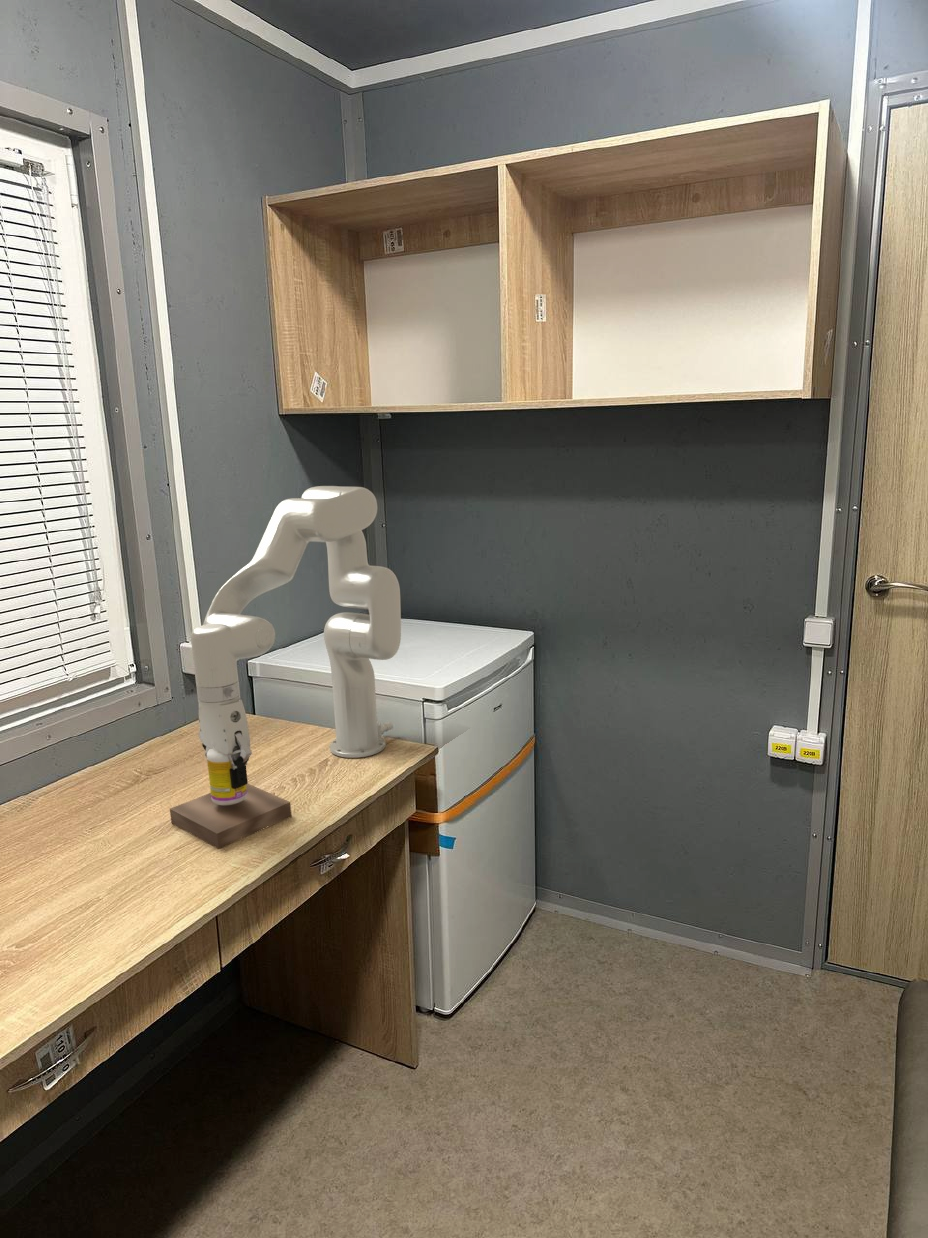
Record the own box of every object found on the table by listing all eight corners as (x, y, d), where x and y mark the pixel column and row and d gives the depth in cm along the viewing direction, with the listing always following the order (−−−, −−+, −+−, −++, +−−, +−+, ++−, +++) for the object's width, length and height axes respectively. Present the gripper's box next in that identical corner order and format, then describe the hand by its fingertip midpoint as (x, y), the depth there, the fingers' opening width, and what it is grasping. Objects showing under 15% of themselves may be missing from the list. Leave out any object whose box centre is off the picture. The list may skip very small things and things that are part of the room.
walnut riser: (242, 794, 177) (241, 780, 176) (291, 816, 166) (290, 802, 166) (171, 823, 165) (169, 808, 165) (218, 849, 155) (217, 833, 154)
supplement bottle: (238, 807, 161) (231, 743, 158) (205, 805, 163) (197, 741, 159) (253, 792, 168) (247, 729, 164) (222, 790, 169) (215, 728, 166)
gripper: (263, 694, 157) (272, 786, 161) (210, 677, 168) (219, 763, 173) (227, 706, 152) (237, 800, 156) (175, 687, 163) (185, 776, 167)
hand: (228, 780), depth 164 cm, fingers closed on supplement bottle, 6 cm apart
